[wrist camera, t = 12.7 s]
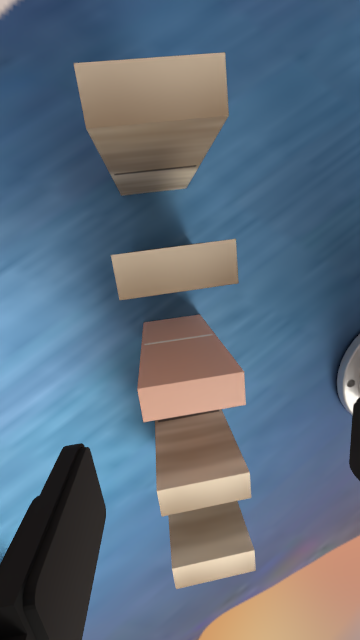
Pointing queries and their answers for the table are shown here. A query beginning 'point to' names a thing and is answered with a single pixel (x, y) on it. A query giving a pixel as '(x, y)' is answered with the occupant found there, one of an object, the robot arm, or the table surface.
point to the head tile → (209, 544)
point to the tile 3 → (186, 370)
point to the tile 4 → (198, 463)
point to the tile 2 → (175, 269)
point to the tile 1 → (154, 116)
